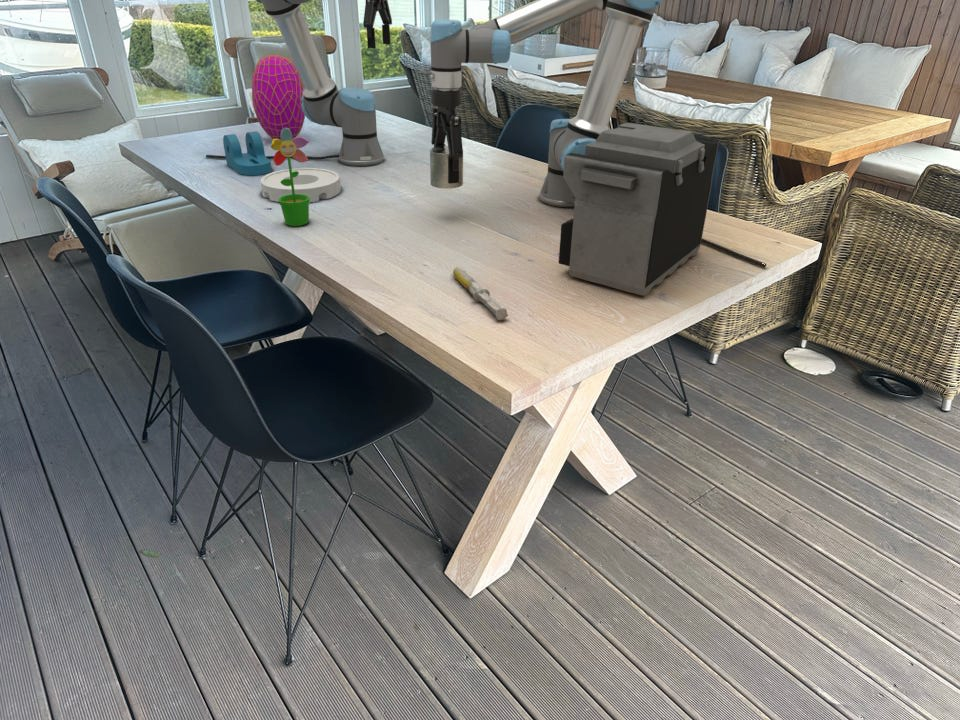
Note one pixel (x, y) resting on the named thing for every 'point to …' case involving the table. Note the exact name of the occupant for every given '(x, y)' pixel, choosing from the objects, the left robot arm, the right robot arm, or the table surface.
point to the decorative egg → (277, 96)
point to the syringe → (479, 293)
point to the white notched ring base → (302, 184)
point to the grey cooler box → (636, 205)
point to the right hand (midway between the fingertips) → (446, 178)
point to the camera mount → (246, 154)
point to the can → (443, 168)
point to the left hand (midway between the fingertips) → (379, 46)
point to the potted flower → (291, 178)
